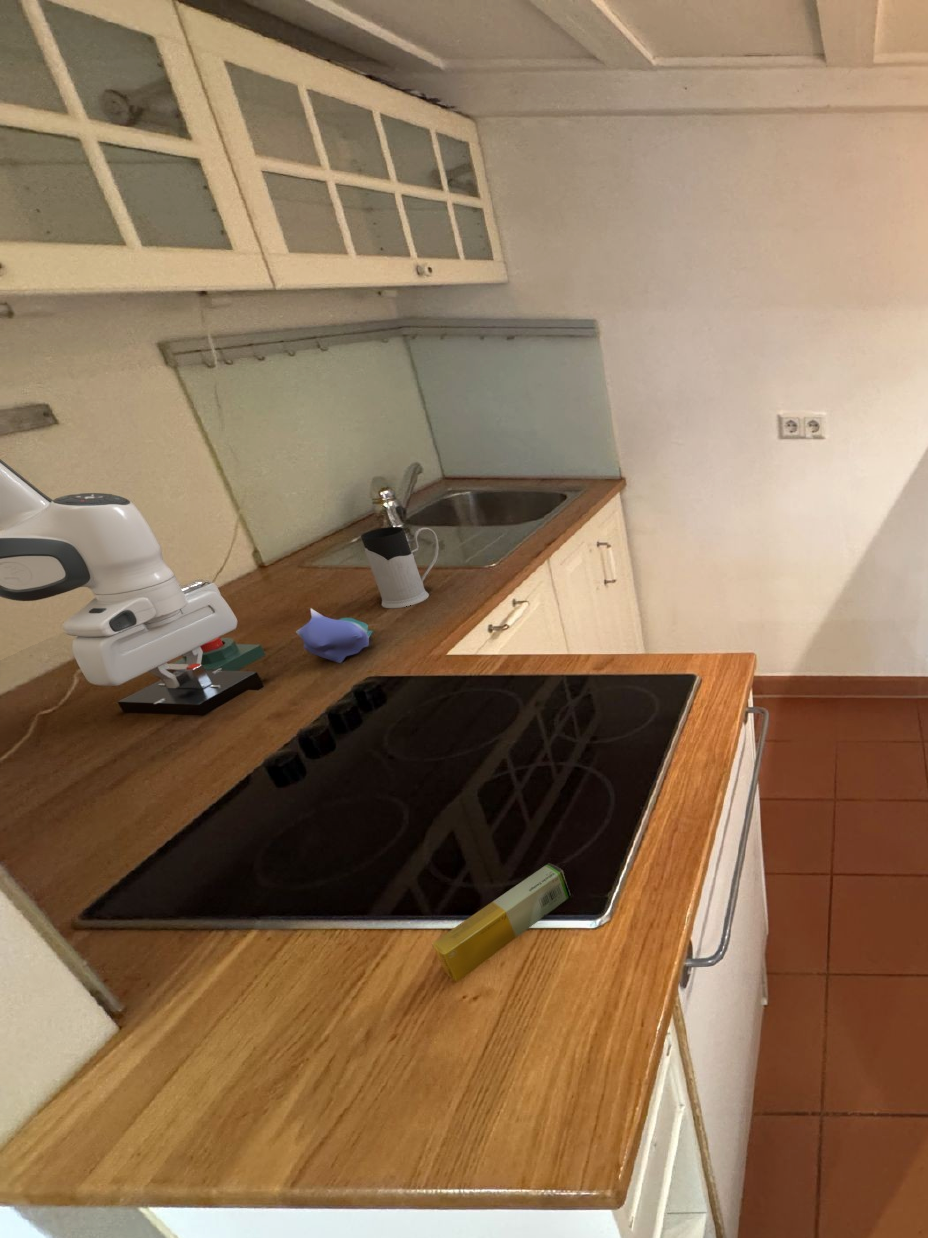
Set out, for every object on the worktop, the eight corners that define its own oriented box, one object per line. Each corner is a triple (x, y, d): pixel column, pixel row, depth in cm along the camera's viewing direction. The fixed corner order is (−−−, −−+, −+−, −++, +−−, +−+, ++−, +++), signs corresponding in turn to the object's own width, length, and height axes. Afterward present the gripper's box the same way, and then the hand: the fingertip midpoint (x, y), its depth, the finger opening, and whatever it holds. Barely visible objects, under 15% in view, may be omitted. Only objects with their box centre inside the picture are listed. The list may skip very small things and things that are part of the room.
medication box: (560, 890, 71) (550, 860, 69) (574, 900, 69) (565, 869, 68) (443, 975, 62) (429, 942, 61) (457, 988, 60) (443, 954, 59)
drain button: (187, 654, 116) (182, 645, 115) (209, 643, 119) (205, 634, 119) (208, 654, 115) (203, 645, 115) (229, 643, 119) (225, 634, 118)
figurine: (338, 676, 126) (345, 631, 128) (393, 667, 124) (398, 621, 126) (268, 660, 114) (277, 610, 116) (327, 649, 112) (335, 599, 114)
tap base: (124, 719, 104) (113, 702, 103) (191, 683, 114) (183, 667, 112) (204, 722, 103) (195, 704, 101) (266, 685, 112) (258, 669, 111)
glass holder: (373, 602, 143) (348, 535, 136) (440, 580, 153) (420, 517, 147) (394, 611, 138) (369, 542, 132) (461, 588, 149) (441, 522, 142)
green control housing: (167, 679, 115) (156, 658, 114) (216, 654, 124) (207, 634, 122) (219, 680, 114) (208, 660, 113) (265, 655, 122) (256, 635, 121)
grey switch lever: (166, 687, 107) (154, 667, 105) (176, 682, 108) (165, 662, 106) (202, 688, 106) (191, 668, 104) (212, 683, 107) (201, 663, 106)
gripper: (193, 575, 110) (229, 649, 116) (47, 630, 92) (99, 716, 98) (227, 575, 109) (262, 650, 115) (87, 631, 91) (137, 717, 97)
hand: (186, 681), depth 107 cm, fingers closed on grey switch lever, 2 cm apart
